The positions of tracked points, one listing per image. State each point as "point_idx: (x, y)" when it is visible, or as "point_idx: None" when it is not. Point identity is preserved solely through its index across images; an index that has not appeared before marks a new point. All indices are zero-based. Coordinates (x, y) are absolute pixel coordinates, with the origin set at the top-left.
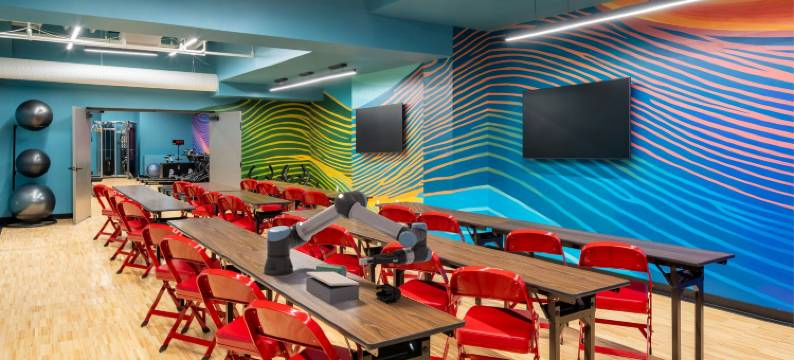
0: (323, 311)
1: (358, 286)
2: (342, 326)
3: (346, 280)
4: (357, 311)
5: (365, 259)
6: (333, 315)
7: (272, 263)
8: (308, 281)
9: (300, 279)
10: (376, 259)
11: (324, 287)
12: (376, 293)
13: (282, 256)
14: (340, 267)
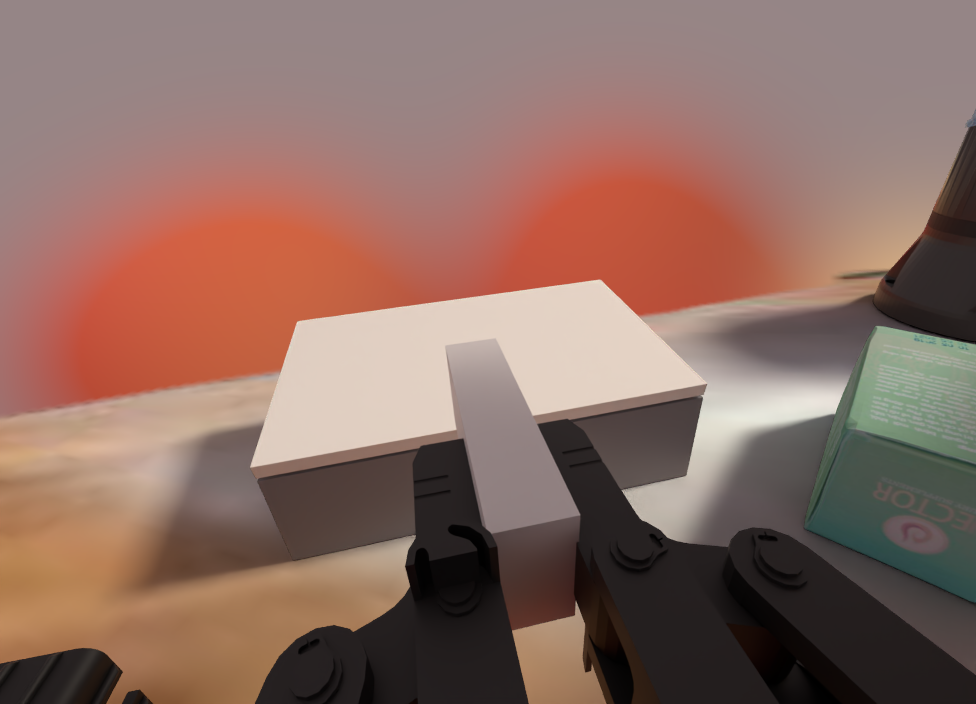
0: (257, 387)
1: (262, 483)
2: (42, 413)
3: (368, 401)
4: (102, 494)
5: (457, 403)
6: (178, 406)
7: (911, 252)
8: None
9: (832, 364)
10: (420, 659)
11: None
12: (135, 699)
13: (964, 229)
14: (921, 437)
